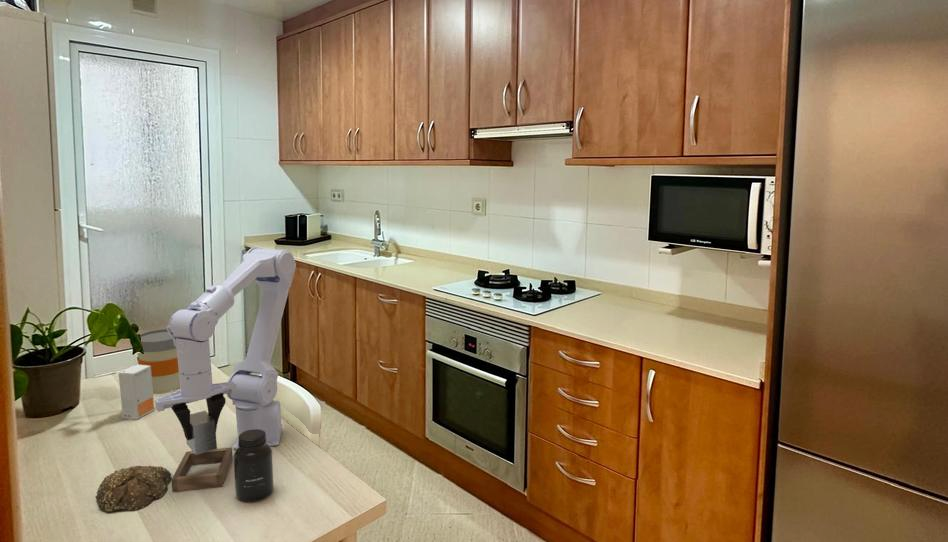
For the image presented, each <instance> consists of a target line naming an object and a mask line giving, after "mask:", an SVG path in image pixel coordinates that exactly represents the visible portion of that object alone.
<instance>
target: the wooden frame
mask: <svg viewBox="0 0 948 542" xmlns="http://www.w3.org/2000/svg"><path fill="white" fill-rule="evenodd" d="M233 460H234V452H233V447H223V448H221V447H220V448H217V449H214V450H211V451H208V452H204V453H201V454H198V455H195V454H194V452H193V451H192V450H191V451H185V453H184V455H183V457H182V459H181V461H180V463H179V464H178V466H177V469H176V470H175V473H174V474H173V476H172V477H171V478H172V479H171V482H170V484H171V490H172V493H173V492H175V493H176V492H184V490H185V491H192V490H193V489H194V490H202V489H210V488H219V487H223V486H224V483H225V482H226V479H227V476H228V473H229V471H230V467H231V465H232V462H233ZM211 462H212V463H220V465H219V468H218V470H217V472H212V473H211V472H210V473H200V474H191V475H190V474H189V475H187V474H188V472H189V469H190V468H191V466H193V465H200V464H201V463H202V464H210V463H211ZM199 463H200V464H199ZM202 464H201V465H202ZM201 488H202V489H201ZM191 489H192V490H191Z"/></svg>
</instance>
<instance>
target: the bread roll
mask: <svg viewBox="0 0 948 542" xmlns="http://www.w3.org/2000/svg"><path fill="white" fill-rule="evenodd" d="M172 478H173V477H172V473H171V472H170V471H169V470H168V469H167V468H166V467H163V466H157V465H156V466H153V465H148V466H147V465H144V466H143V465H134V466H129V467H126V468H122V469H119V470H115V471H113V472H112V473H110V474H109V475H106V477H104V478H103V480H102V481H101V483H100V484H99V487H98V489H97V492H96V495H95V499H96V501H97V503H98V506H99V507H98V508H99V509H100V511H102V512H105V513H110V512H111V513H112V512H115V511H120V510H129V511H131V512H132V511H140V510H143V509H145V508H146V507H148V506H149V505H151V504H152V503H153V501H155V500H159V499H161V498H162V497H164V496H165V495H166V493H167V491H168V490H169V485H170V484H171V479H172Z"/></svg>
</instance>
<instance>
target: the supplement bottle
mask: <svg viewBox="0 0 948 542" xmlns="http://www.w3.org/2000/svg"><path fill="white" fill-rule="evenodd" d="M238 445H239V448H237V449H235V451H234V452H233V466H234V467H233V469H234V487H235V488H234V489H235V490H234V491H235V495H236V498H237V499H239V500H240V501H243V502H249V503H251V502H252V503H253V502H259V501H261V500H264V499H265V498H267V497H268V496H269V495H271V494H272V493H273V491H274V469H273V467H274V464H273V449H272V446H269V445H268V444H267V443H266V433H265V431H263V430H259V429H253V430H248V431H245V432H243V433H241V434H240V435H239V443H238Z"/></svg>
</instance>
